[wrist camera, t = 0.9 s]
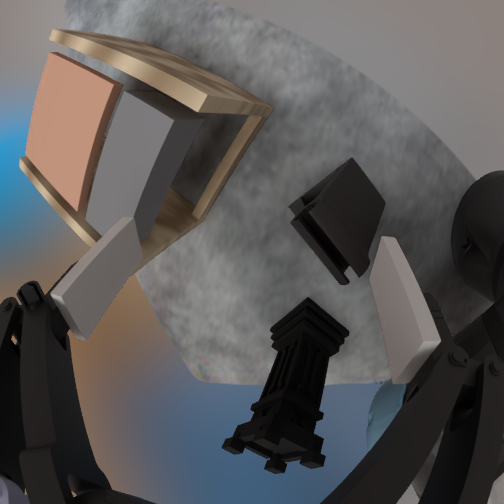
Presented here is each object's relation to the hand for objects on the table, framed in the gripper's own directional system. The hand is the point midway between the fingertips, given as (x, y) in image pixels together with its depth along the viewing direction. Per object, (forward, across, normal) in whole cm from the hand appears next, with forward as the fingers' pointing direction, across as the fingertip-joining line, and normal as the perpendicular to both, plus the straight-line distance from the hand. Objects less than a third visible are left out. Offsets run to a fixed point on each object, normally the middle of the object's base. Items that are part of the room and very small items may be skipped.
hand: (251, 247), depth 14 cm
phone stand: (+16, -7, +4) cm, 18 cm away
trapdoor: (+10, +15, -5) cm, 19 cm away
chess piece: (+14, -6, +22) cm, 27 cm away
